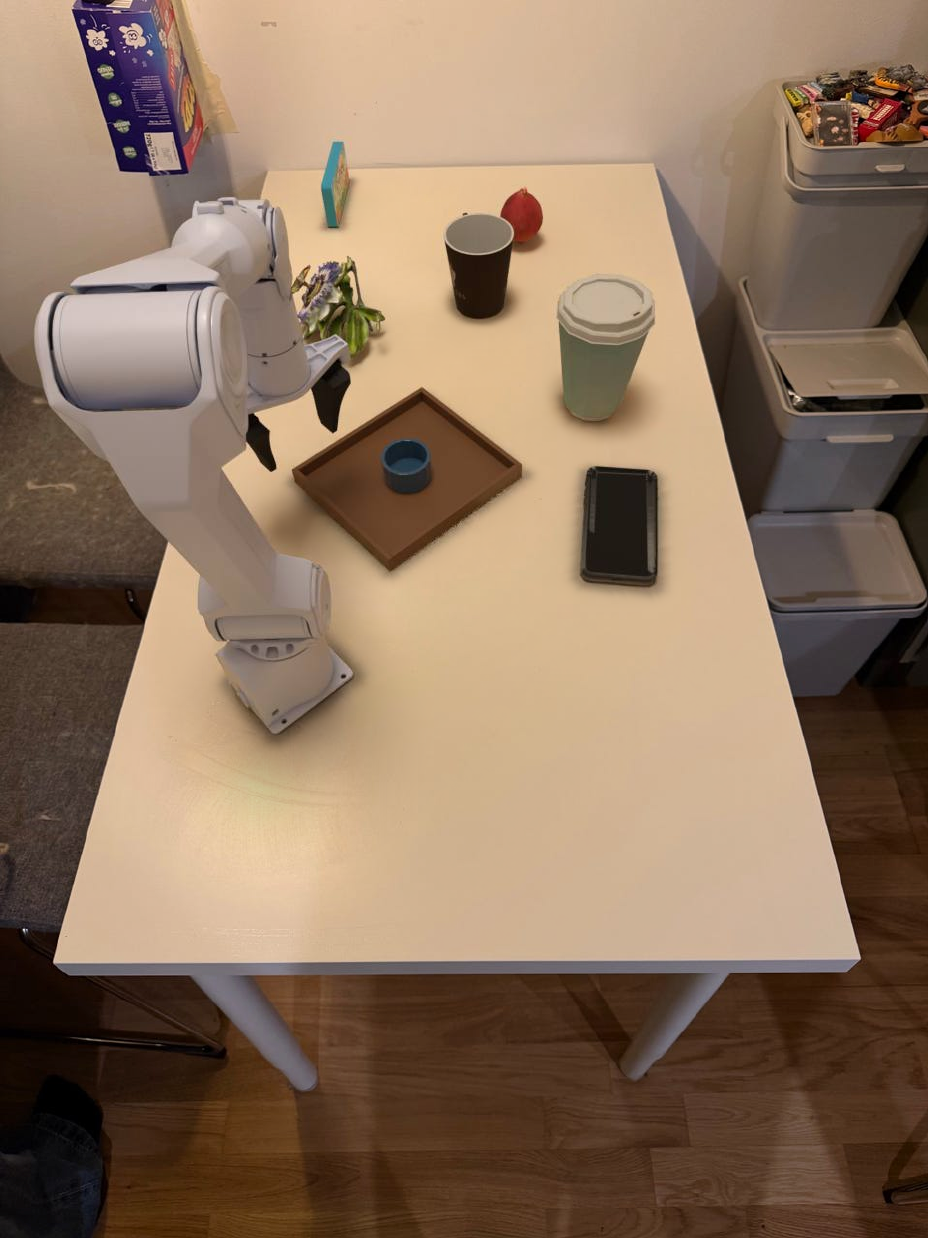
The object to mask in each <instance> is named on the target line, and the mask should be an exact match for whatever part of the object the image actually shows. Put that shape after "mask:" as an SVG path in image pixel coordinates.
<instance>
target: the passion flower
mask: <svg viewBox="0 0 928 1238" xmlns="http://www.w3.org/2000/svg"><path fill="white" fill-rule="evenodd" d="M325 263H326V264H325ZM310 270H311V265H310V264H308V265H307V266H306V267H304V268H303V269H302V270H301V272H300V273H299V275H298V276H296V277H295V279H294V281H293V282H292V286H291V290H292V294H295V293H298V292H300V289H302V287H306V289H305V292H304V293H303V294H302V295H301V301H302V303H303V304H302V307H301V308H300V310H299V311H298V313H297V315H298V319H299V324H300V326H301V325H303V326H305V329H304V331H303V333H302V336H303V341H304V340H305V341H306V340H309V339H310V338H311V337H312V336H313V335H314V334H315V333H317V332H318V331H319V337H320V341H322V340H325V339H326V335H327V333H328V337H327V338H329V337H331V336H333V335H335V334H336V335H337V336H339V337H340V338H341V339H342V340H344V339H343V338H344V337H343V336H344V331H345V342H346V343H348V347H349V352H350V358H351V360H353V359H354V358H355V357H356V356H357V354H358V353H359V352H360V351H362V350H363V349H364V348H365V346H366V345H367V344H368V340H369V335H370V330H371V331H372V332H373V331H374V329H373V326H372V323H371V322H373V323H376V324H375V327H376V332H377V333H380V331H381V322H384V321H385V320H386V317H385V315H383V314H382V311H381V310H379V309H376V308H374V307H373V308H372V307H368V306H366V305H365V304H364V301H363V299H362V295H361V288H360V285H359V280H358V279H359V277H358V271H357V266H356V262H355V261H354V260H353V259H352V257H350V255H347V256H346V262H344V261H343V262H341V264H340V262H339V261H334V260H333V261H331V260H330V261H326V262H323V263H322V266H321V265H318V271H317V273H314V274H313V275H312V276H311V277H310V283H308V282H307V281H306V277H307V276H308V273H309V271H310ZM351 272H352V273H353V276H354V282H355V287H356V293H357V301H356V304H354V299H353V298H354V297H353V296H354V287H352V286H351V277H350V275H348V274H349V273H351ZM341 307H344V308H343V309H342V310H341V313H340V314H338V315H336V316H335V317H334V318H333V315H334V314H335V312H336V311H337V310H338V309H339V308H341ZM332 318H333V319H332ZM331 319H332V320H331ZM351 360H349V361H348V362H350V361H351Z"/></svg>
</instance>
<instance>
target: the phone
mask: <svg viewBox="0 0 928 1238" xmlns="http://www.w3.org/2000/svg"><path fill="white" fill-rule="evenodd" d="M658 479H659V478H658V475H657V473H656V472H655V471H653V470H651V469H646V468H632V467H631V468H629V467H615V466H602V465H593V466H590V467H589V468H588V469H587V470H586V474H585V481H584V490H583V491H584V492H583V518H582V533H581V534H582V535H581V548H580V549H581V551H580V566H579V574H580V576H581V578H582V579H583V580H585V581H587V582H591V583H601V584H602V583H603V584H614V585H615V584H616V585H627V586H639V587H649V586H653V584H654V583H655V582H656V579H657V576H658V571H659V570H658V569H659V564H658V563H659V562H658V561H659V560H658V559H659V548H658V547H659V545H658V544H659V541H658V540H659V529H658V528H659V527H658V526H659V525H658V523H659V519H658V518H659V514H658V513H659V509H658V508H659V503H658V502H659V496H658V495H659V490H658V489H659V486H658V485H659V483H658V482H659V480H658Z"/></svg>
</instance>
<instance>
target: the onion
mask: <svg viewBox="0 0 928 1238" xmlns="http://www.w3.org/2000/svg"><path fill="white" fill-rule="evenodd" d="M499 217H502V218H503V219H505V220H507V221H508V222H509V223H510V224H511V226H512V227H513V230H514V238H513V241H515V242H517V243H518V244H525V243H526V242H527V241H530V240H531V239H533V238H534V237H535V236H536V235H538V233H539V232H540V229H541V228H542V225H543V221H544V214H543V208H542V205H541V203H540V201H539V200H538V199H537V198H536V197H535V195H533V194H532V193H530V192H528V188H527V187H526V186H522V187H520V189H519V190H517V191H515V192H514V193H512V194H510V196H508V198H507V199H506V200H505V201H504V203H503V206H502V207H501V210H500V214H499Z"/></svg>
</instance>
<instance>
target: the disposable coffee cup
mask: <svg viewBox="0 0 928 1238" xmlns="http://www.w3.org/2000/svg"><path fill="white" fill-rule="evenodd" d="M555 319H556V320H557V321H558V333H559V334H558V335H559V336H558V337H559V347H560V348H559V349H560V350H559V351H560V364H561V379H562V380H561V381H562V393H563V396H562V397H563V402H564V404H565V407H566V408H567V410H568V412H570V414H571V415H572V416H574V417H576V418H578V419H580V420H582V421H588V422H589V421H590V422H600V421H602V420H607V419H609V418H610V417H611V416H612V415H613V414H614V413H615V412H616V411H617V410H618V408H619V407H620V406H621V405H622V401H623V400H624V399H623V398H624V396H625V395H626V391H627V389H628V386H629V383H630V381H631V378H632V375H633V373H634V371H635V368H636V365H637V363H638V360H639V357H640V355H641V352H642V350H643V347H644V344H645V343H646V340H647V337H648V334H649V332H650V330H651V329H652V328H653V327H654V326H655V325H656V302H655V299H654V298H653V292H652V291H651V290H650V289H649V288H648V287H647V286H646V285H645V284H644V283H642V282H641V281H640V280H638V279H635V278H632V277H629V276H627V275H626V276H625V275H623V274H619V273H618V274H616V273H615V274H612V273H595V274H592V275H589V276H586V277H582V278H579V279H576V281H574V282H572V283H571V284H570V285H569V286H568V287H567V288H566V289H565V290H563V291H562V292H561V293H560V294H559V298H558V300H557V306H556V318H555Z"/></svg>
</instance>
